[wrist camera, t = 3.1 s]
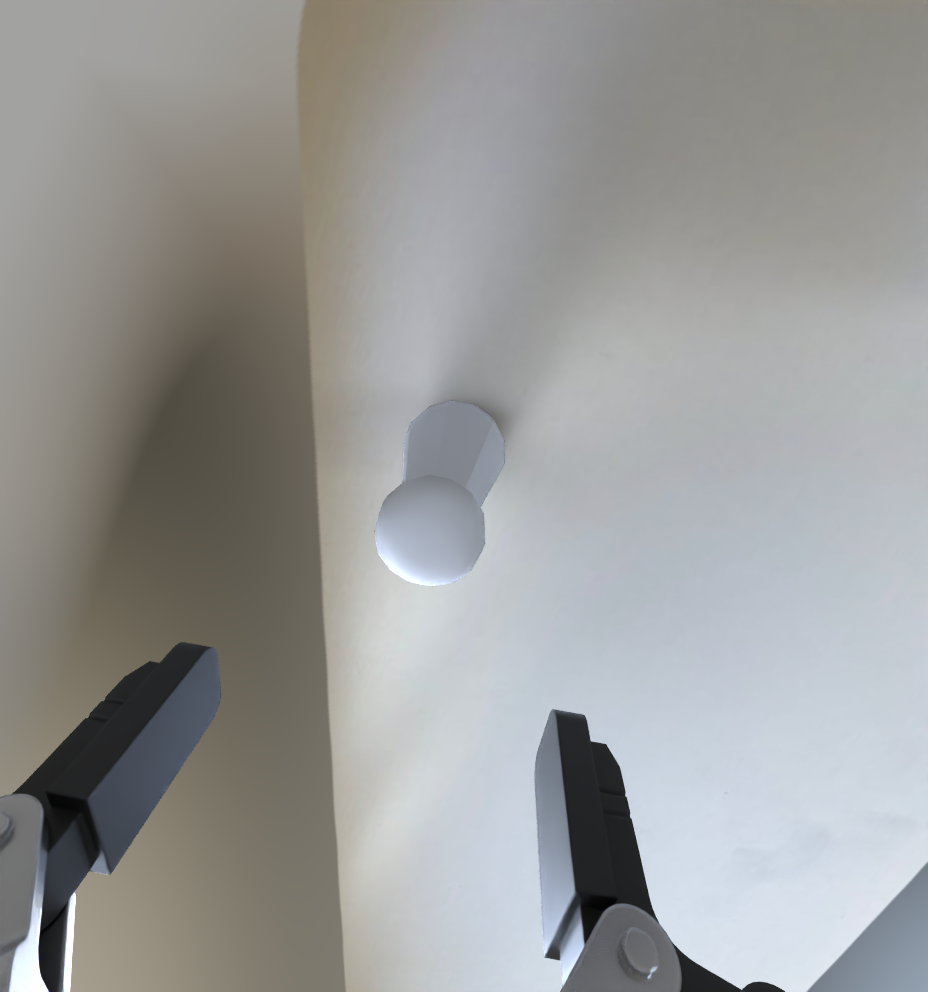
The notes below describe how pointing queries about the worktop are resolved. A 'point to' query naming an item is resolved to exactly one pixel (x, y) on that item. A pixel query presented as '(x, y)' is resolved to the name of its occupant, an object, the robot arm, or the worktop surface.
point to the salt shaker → (441, 495)
